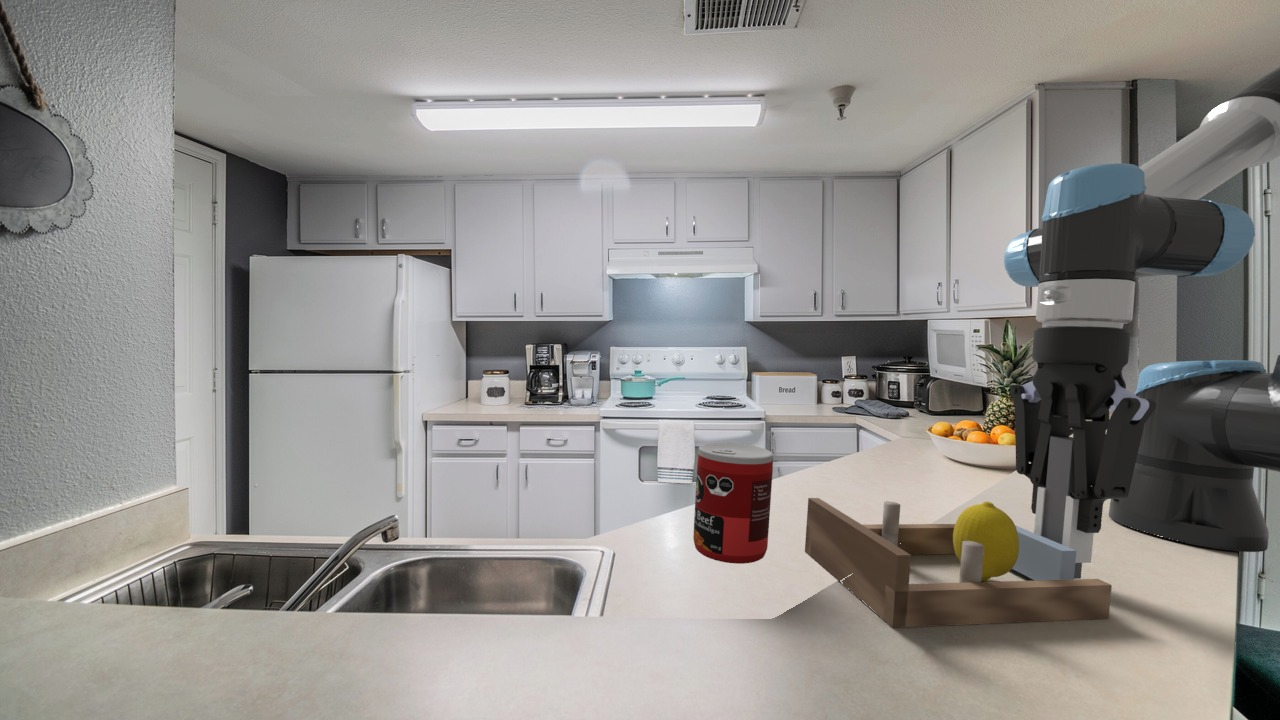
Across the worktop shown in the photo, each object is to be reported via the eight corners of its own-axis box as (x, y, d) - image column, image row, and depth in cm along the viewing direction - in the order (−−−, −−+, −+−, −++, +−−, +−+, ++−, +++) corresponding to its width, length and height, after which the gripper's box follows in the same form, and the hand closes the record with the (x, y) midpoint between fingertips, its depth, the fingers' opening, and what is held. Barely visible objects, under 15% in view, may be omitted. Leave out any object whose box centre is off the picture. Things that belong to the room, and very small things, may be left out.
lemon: (995, 571, 56) (1001, 496, 55) (1028, 596, 50) (1035, 513, 50) (940, 566, 56) (945, 491, 56) (966, 590, 51) (973, 508, 50)
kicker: (1036, 558, 59) (1047, 432, 58) (1107, 590, 51) (1120, 446, 51) (992, 558, 58) (1003, 431, 57) (1058, 592, 50) (1071, 445, 50)
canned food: (686, 536, 61) (691, 441, 61) (753, 537, 62) (759, 443, 62) (701, 565, 54) (707, 456, 53) (777, 565, 54) (784, 459, 54)
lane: (973, 549, 62) (977, 498, 62) (1108, 618, 47) (1114, 551, 47) (804, 551, 58) (808, 497, 58) (892, 627, 43) (897, 555, 43)
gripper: (986, 325, 61) (970, 527, 62) (1132, 322, 45) (1108, 592, 46) (1042, 328, 62) (1026, 527, 63) (1203, 327, 47) (1178, 589, 48)
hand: (1060, 554), depth 55 cm, fingers closed on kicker, 2 cm apart
